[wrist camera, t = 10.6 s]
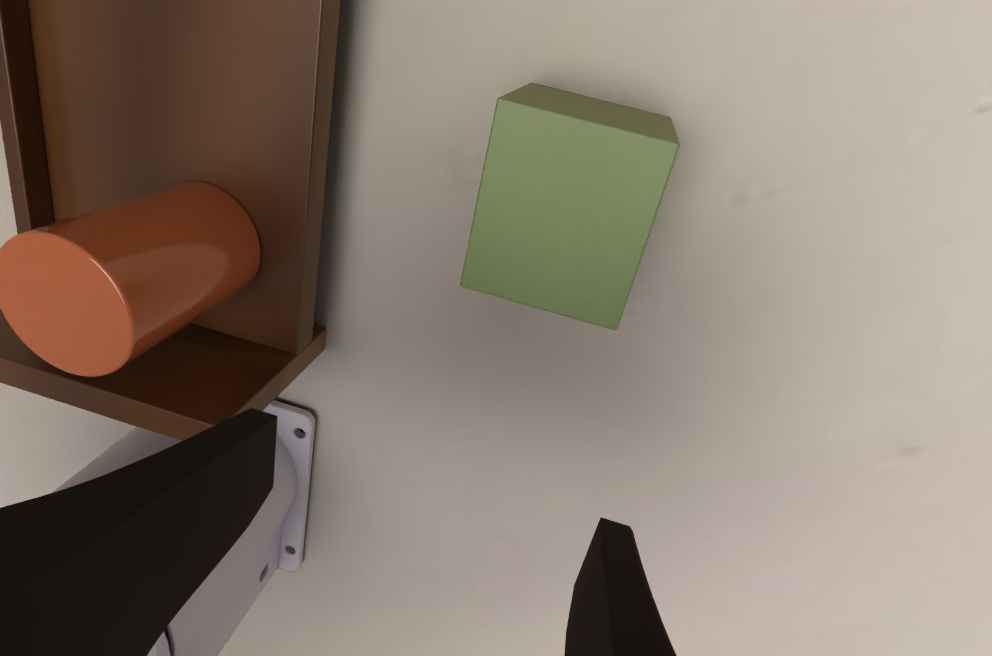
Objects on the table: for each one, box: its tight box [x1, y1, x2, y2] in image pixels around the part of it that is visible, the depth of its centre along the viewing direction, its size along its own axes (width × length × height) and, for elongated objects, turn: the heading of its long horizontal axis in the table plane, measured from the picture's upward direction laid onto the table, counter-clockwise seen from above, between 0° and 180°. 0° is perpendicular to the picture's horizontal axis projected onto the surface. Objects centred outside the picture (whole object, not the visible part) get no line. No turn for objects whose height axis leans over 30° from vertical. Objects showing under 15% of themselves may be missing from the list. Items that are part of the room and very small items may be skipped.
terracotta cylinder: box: [0, 181, 261, 377], centre depth 18 cm, size 4×4×6 cm
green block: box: [460, 83, 680, 330], centre depth 18 cm, size 5×4×5 cm
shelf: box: [0, 0, 341, 441], centre depth 18 cm, size 10×18×7 cm, turn 168°
